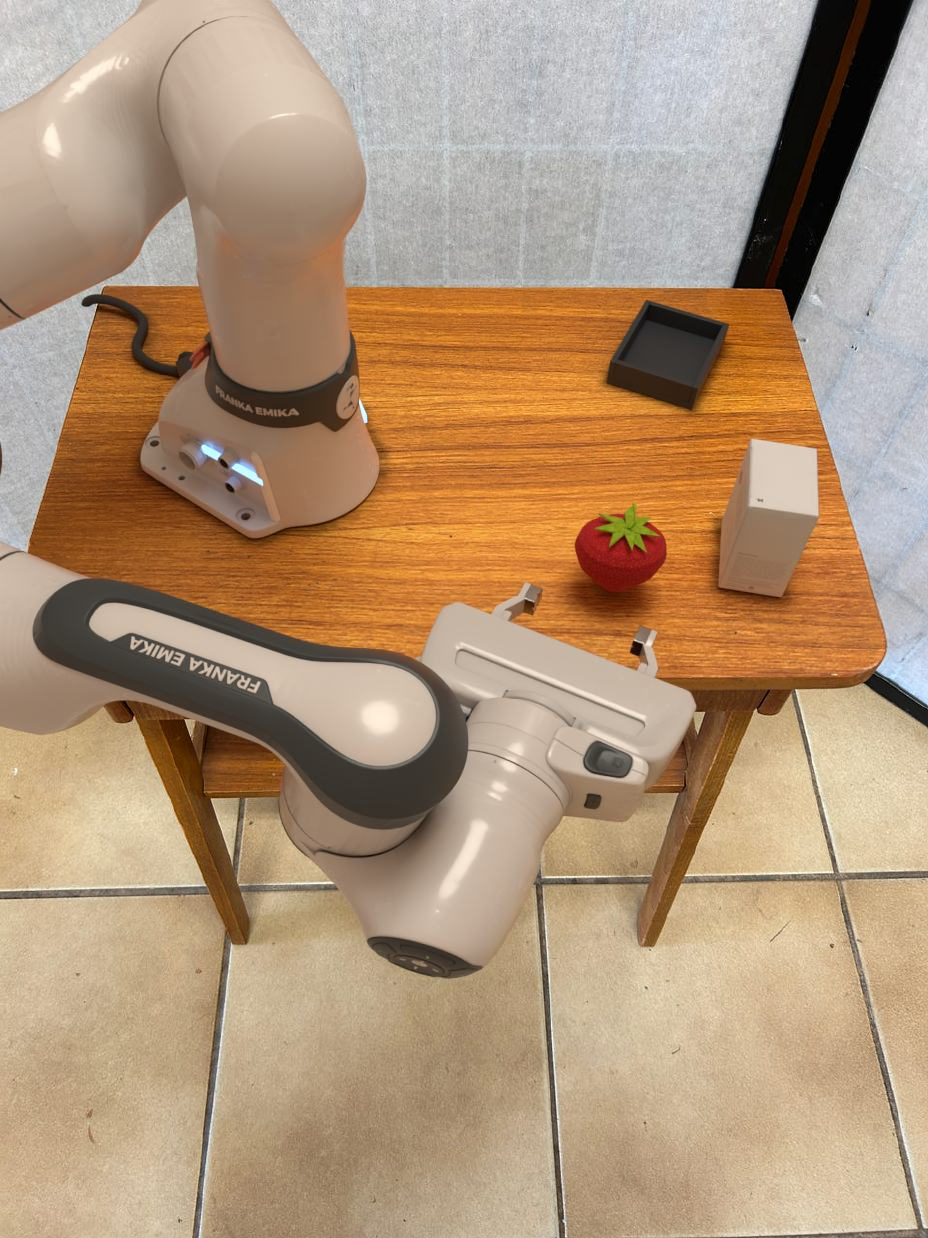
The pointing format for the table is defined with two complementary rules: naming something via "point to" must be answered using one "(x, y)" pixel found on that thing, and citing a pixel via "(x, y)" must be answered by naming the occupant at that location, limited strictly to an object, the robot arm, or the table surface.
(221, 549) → the table surface
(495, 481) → the table surface
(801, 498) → the small box
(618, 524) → the strawberry
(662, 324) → the tray
